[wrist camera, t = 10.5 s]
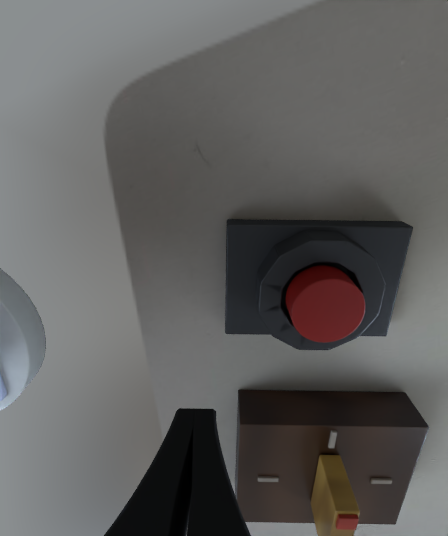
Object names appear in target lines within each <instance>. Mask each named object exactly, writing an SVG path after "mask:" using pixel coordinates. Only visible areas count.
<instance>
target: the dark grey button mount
mask: <svg viewBox="0 0 448 536" xmlns="http://www.w3.org/2000/svg"><path fill="white" fill-rule="evenodd" d="M412 229H413V227H412V226H410V225H408V224H406V223H404V222H402V221H323V220H243V219H228V220H227V239H226V311H225V333H226V334H266V335H272V336H273V337H275V338H277V339H279V340H281V341H283V342H285V343H287V344H288V345H290V346H292V347H294V348H296V349H299V350H329V349H332V348H335V347H337V346H339V345H342V344H344V343H346V342H349V341H351V340H353V339H356V338H357V337H359V336H386V335H387V332H388V328H389V324H390V320H391V315H392V311H393V307H394V303H395V299H396V295H397V291H398V287H399V283H400V279H401V274H402V270H403V266H404V262H405V258H406V254H407V250H408V246H409V242H410V238H411V233H412ZM319 265H327V266H333V267H336V268H338V269H340V270H342V271H343V272H344V273H345V274H346V275H347V276H348V277H349V278H350V279H351V280H352V281H353V283H354V284H355V285H356V286H357V287H358V288H359V290H360V291H361V292H362V294H363V296H364V299H365V314H364V317H363V319H362V321H361V323H360V325H359V326H358V327H357V328H356V329H355V330H354V331H353V332H352V333H351V334H350V335H348V336H346V337H345V338H342V339H340V340H337V341H333V342H324V343H323V342H315V341H312V340H309V339H307V338H305V337H304V336H302V335H301V334H300V333H299V332H298V331H297V330H296V329H295V327H294V325H293V323H292V320H291V317H290V314H289V311H288V308H287V305H286V292H287V288H288V286H289V284H290V283H291V281H292V280H293V279H294V277H295V276H297V275H298V274H299V273H300V272H302V271H303V270H305V269H307V268H310V267H313V266H319Z"/></svg>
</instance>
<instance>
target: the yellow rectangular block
mask: <svg viewBox="0 0 448 536" xmlns="http://www.w3.org/2000/svg"><path fill="white" fill-rule="evenodd" d="M311 508H312V512H313V517H314V521H315V525H316V530H317V534H318V536H353V535H354V531H355V530H356V527H357V524H358V521H359V518H358V517H359V514H360V510H359V508H358V505H357V502H356V499H355V496H354V493H353V491H352V488H351V485H350V482H349V479H348V476H347V474H346V471H345V468H344V465H343V462H342V459H341V457H340V455H320V456H319V461H318V466H317V472H316V477H315V482H314V487H313V492H312V498H311Z"/></svg>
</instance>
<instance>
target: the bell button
mask: <svg viewBox="0 0 448 536" xmlns="http://www.w3.org/2000/svg"><path fill="white" fill-rule="evenodd" d="M286 305H287V308H288V311H289V314H290V317H291V320H292V323H293V325H294V327H295V329H296V330H297V331H298V332H299V333H300V334H301V335H302V336H304V337H305V338H307V339H309V340H312V341H315V342H323V343H324V342H333V341H337V340H340V339H342V338H345V337H346V336H348V335H350V334H351V333H352V332H353V331H354V330H355V329H356V328H357V327H358V326H359V325H360V323H361V321H362V319H363V317H364V314H365V299H364V296H363V294H362V292H361V291H360V290H359V288H358V287H357V286H356V285H355V284H354V283H353V281H352V280H351V279H350V278H349V277H348V276H347V275H346V274H345V273H344V272H343V271H342V270H340V269H338V268H336V267H333V266H327V265H319V266H313V267H310V268H307V269H305V270H303V271H302V272H300V273H299V274H298V275H297V276H295V277H294V279H293V280H292V281H291V283H290V284H289V286H288V288H287V292H286Z"/></svg>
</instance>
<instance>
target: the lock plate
mask: <svg viewBox="0 0 448 536" xmlns="http://www.w3.org/2000/svg"><path fill="white" fill-rule="evenodd" d="M428 430H429V426H428V425H427V423H426V422H425V420H424V419H423V417H422V416H421V415H420V413H419V412H418V410H417V409H416V407H415V406H414V404H413V403H412V402H411V400H410V399H409V397H408V396H407V394H406V393H405V392H340V391H274V390H238V413H237V441H236V470H235V497H236V500H237V502H238V505H239V508H240V510H241V513H242V515H243V518H244V520H245V522H284V523H315V521H314V517H313V512H312V508H311V498H312V492H313V487H314V482H315V477H316V472H317V466H318V461H319V456H320V455H340V457H341V459H342V462H343V465H344V468H345V471H346V474H347V476H348V479H349V482H350V485H351V488H352V491H353V493H354V496H355V499H356V502H357V505H358V508H359V510H360V514H359V517H358V518H359V521H358V524H396V521H397V518H398V515H399V512H400V510H401V507H402V504H403V501H404V498H405V495H406V492H407V490H408V487H409V484H410V481H411V478H412V475H413V473H414V470H415V467H416V464H417V461H418V458H419V455H420V453H421V450H422V447H423V444H424V441H425V438H426V435H427V433H428Z"/></svg>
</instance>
